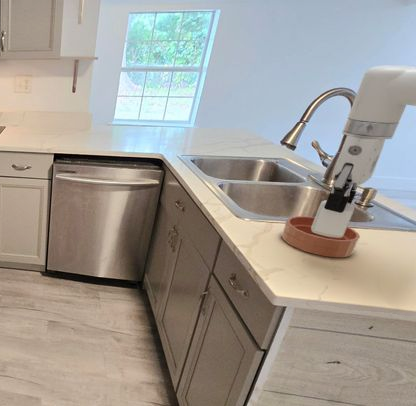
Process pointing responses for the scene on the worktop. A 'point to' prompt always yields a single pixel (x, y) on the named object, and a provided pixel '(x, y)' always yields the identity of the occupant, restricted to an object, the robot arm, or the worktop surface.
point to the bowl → (318, 238)
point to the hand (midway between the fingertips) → (336, 207)
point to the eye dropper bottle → (332, 221)
